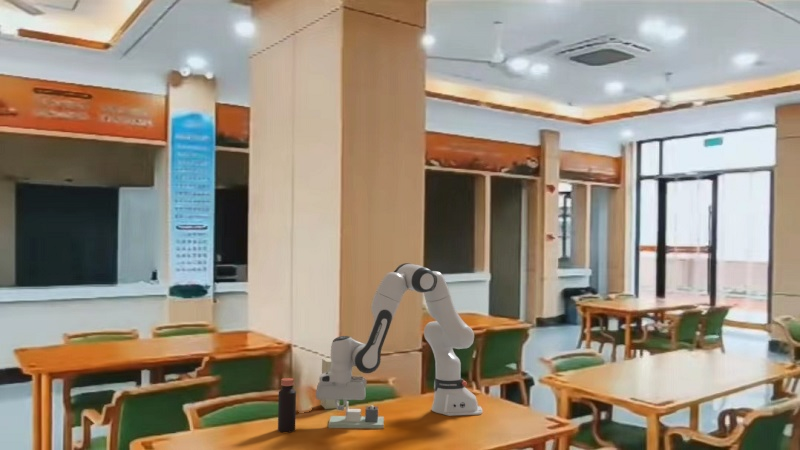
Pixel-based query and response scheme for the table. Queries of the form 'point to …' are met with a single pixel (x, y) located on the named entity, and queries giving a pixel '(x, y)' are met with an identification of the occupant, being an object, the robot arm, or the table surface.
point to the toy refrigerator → (325, 368)
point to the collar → (371, 414)
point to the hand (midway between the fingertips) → (340, 410)
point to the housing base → (340, 422)
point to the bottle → (287, 406)
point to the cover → (352, 414)
